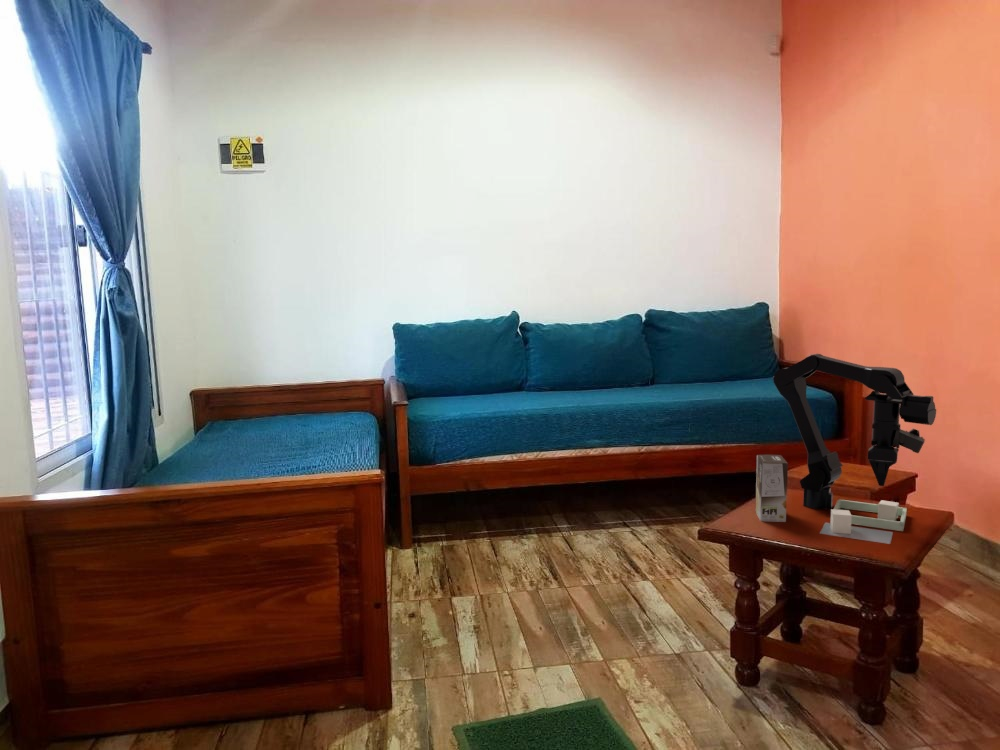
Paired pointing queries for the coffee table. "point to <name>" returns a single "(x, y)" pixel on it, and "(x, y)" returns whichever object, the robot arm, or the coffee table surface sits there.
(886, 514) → the light grey cube
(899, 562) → the coffee table surface
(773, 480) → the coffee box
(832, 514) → the white cube
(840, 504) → the green bin
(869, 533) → the slate slab
